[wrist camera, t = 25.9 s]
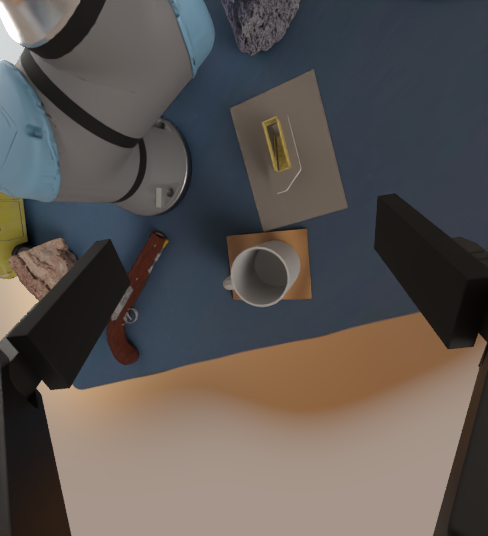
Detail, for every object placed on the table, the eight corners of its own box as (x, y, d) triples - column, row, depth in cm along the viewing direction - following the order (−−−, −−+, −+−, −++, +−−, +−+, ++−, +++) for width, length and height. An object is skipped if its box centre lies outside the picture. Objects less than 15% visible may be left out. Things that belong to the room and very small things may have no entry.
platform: (313, 69, 37) (307, 41, 31) (347, 207, 39) (347, 206, 33) (229, 108, 42) (209, 90, 36) (263, 231, 43) (249, 235, 37)
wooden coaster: (234, 299, 47) (233, 300, 46) (227, 235, 45) (226, 236, 45) (312, 297, 43) (311, 298, 42) (306, 228, 41) (306, 228, 41)
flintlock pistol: (123, 373, 52) (83, 337, 54) (137, 363, 56) (99, 329, 57) (192, 267, 44) (142, 227, 45) (202, 263, 48) (156, 226, 49)
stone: (90, 305, 49) (22, 331, 45) (101, 316, 55) (43, 340, 52) (65, 233, 53) (1, 252, 49) (79, 252, 59) (23, 269, 56)
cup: (307, 281, 42) (298, 298, 33) (245, 298, 45) (222, 317, 37) (292, 233, 41) (278, 238, 33) (229, 254, 45) (203, 263, 37)
